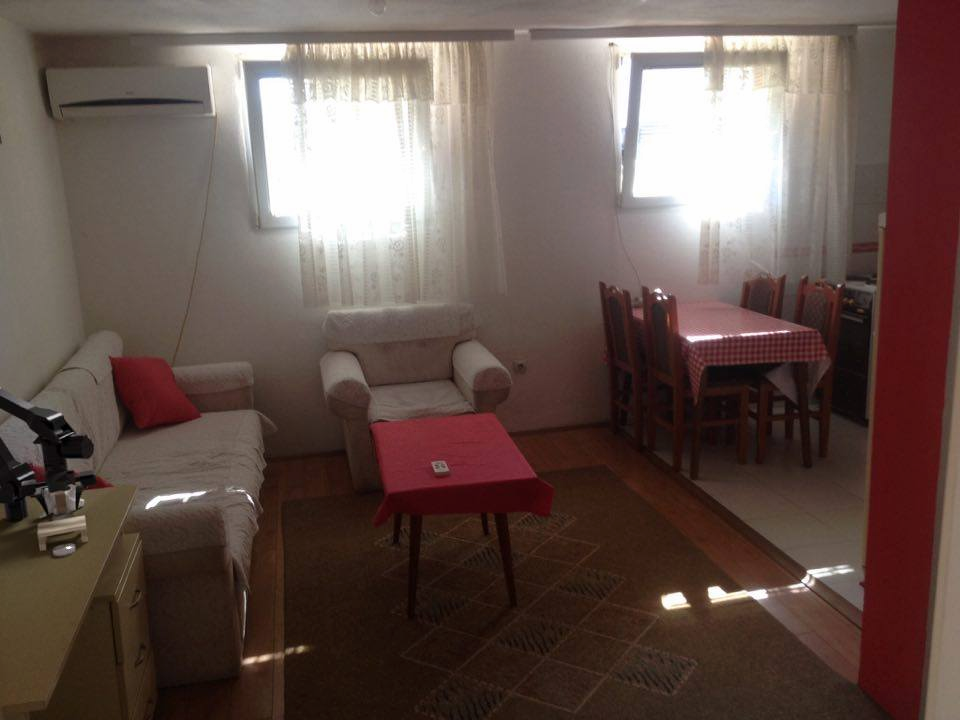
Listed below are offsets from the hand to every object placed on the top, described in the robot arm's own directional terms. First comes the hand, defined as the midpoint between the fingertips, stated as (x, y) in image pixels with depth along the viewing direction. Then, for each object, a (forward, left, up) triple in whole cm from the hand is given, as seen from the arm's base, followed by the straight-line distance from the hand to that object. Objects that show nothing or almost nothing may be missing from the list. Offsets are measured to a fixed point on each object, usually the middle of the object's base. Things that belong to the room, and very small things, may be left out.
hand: (62, 512), depth 232 cm
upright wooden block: (-1, 0, -2) cm, 2 cm away
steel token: (+27, 0, -2) cm, 27 cm away
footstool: (+19, 0, -2) cm, 19 cm away
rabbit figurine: (-7, 0, -2) cm, 7 cm away
